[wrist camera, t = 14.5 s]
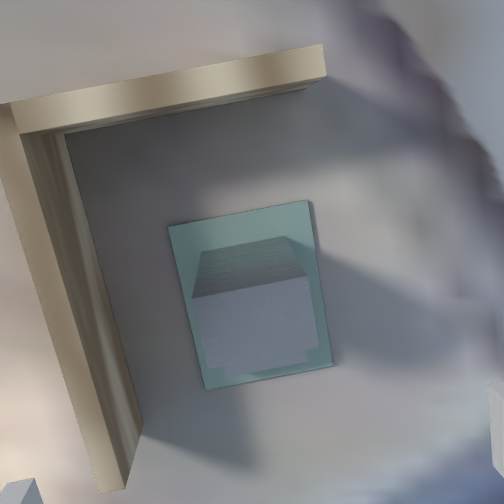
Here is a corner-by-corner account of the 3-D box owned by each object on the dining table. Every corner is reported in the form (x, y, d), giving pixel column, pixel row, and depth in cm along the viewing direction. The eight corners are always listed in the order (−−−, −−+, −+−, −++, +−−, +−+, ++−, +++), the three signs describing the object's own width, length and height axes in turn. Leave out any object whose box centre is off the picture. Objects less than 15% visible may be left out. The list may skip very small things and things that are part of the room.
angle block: (201, 251, 33) (191, 298, 24) (283, 235, 34) (307, 276, 24) (226, 364, 36) (226, 449, 26) (303, 349, 36) (332, 428, 26)
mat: (205, 388, 36) (205, 390, 36) (168, 226, 33) (167, 227, 33) (332, 363, 37) (333, 365, 36) (306, 199, 33) (307, 200, 33)
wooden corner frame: (123, 427, 37) (100, 493, 30) (33, 114, 31) (-21, 108, 24) (348, 384, 37) (375, 439, 30) (301, 63, 31) (321, 43, 24)
